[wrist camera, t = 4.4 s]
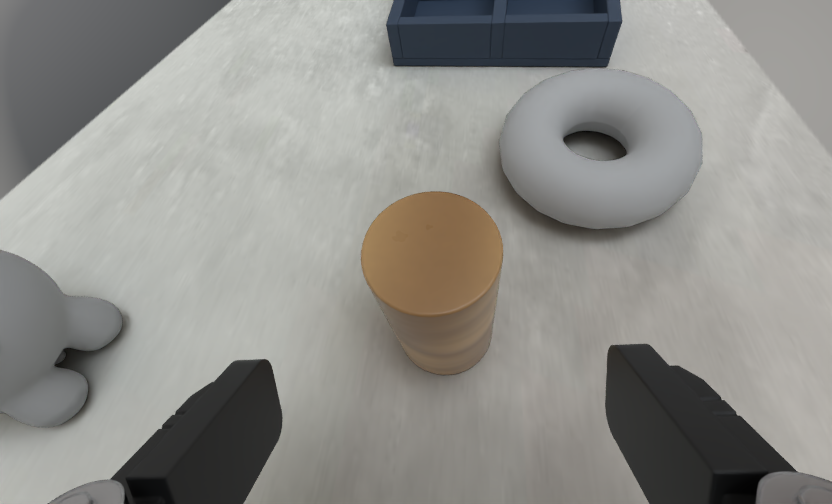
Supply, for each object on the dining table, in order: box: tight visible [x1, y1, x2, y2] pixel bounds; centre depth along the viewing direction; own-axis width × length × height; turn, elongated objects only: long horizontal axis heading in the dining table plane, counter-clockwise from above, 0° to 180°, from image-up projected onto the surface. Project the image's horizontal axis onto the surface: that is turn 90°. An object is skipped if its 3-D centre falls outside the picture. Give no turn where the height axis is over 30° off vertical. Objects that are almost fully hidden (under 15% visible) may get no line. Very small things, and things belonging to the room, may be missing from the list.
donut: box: [499, 68, 702, 229], centre depth 21 cm, size 10×4×10 cm
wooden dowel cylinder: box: [361, 192, 503, 375], centre depth 16 cm, size 4×4×8 cm
